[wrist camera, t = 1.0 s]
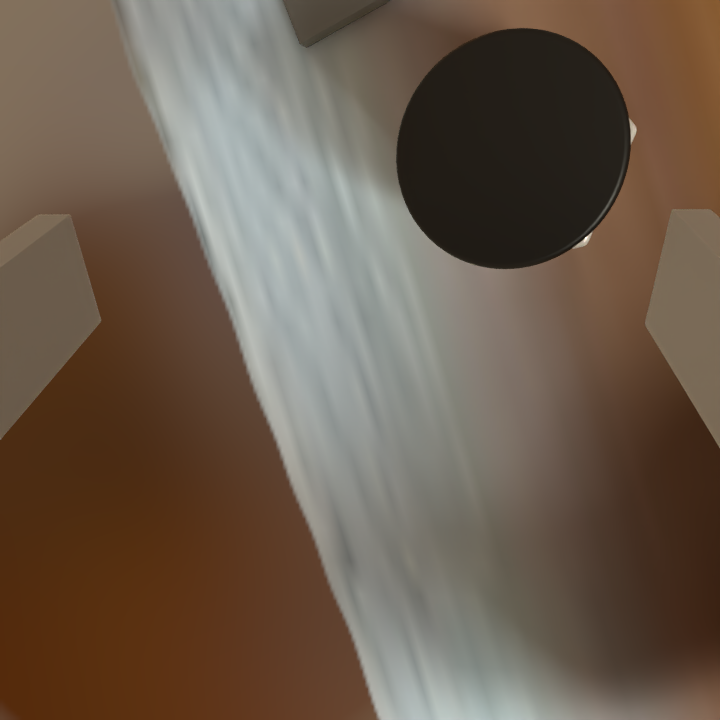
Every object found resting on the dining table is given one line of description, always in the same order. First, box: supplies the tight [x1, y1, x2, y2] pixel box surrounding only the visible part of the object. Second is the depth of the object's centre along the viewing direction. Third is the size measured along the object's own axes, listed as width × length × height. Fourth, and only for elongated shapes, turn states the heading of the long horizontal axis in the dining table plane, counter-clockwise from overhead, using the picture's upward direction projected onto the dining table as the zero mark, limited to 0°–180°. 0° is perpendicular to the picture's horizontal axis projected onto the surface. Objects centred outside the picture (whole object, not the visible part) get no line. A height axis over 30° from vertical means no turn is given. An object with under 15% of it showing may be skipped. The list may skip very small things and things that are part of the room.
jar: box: [396, 28, 637, 269], centre depth 28 cm, size 9×8×12 cm
